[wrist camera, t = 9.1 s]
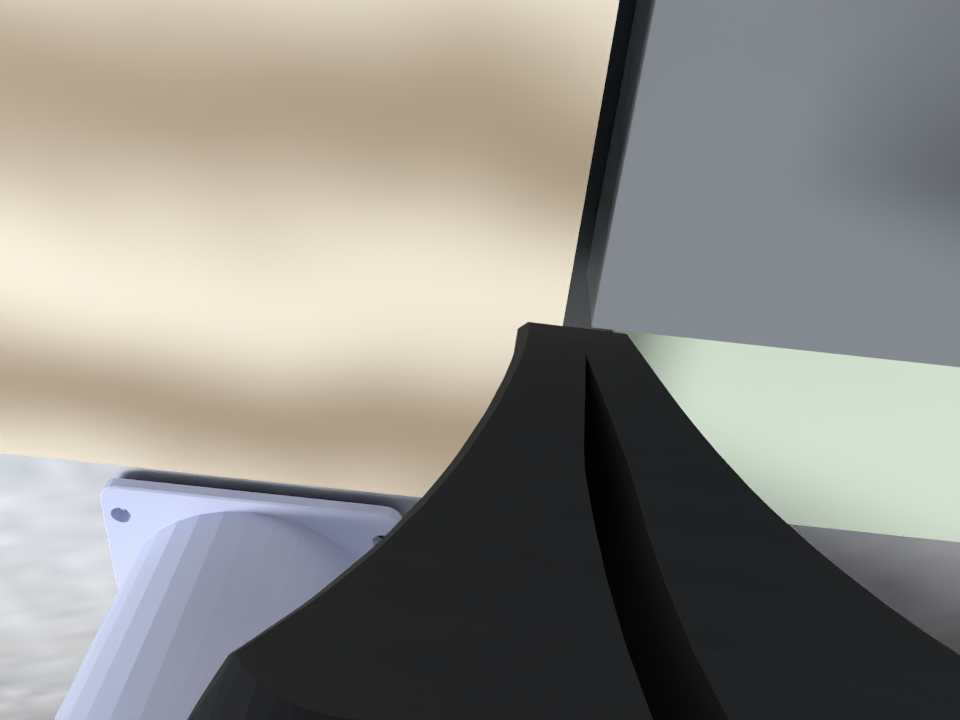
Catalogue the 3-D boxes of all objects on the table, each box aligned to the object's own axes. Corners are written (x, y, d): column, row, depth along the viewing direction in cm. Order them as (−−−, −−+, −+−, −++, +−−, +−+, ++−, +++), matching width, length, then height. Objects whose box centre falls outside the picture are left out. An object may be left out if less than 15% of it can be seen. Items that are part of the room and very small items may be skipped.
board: (530, 425, 22) (530, 509, 20) (-33, 365, 22) (-104, 442, 20) (667, -413, 13) (698, -452, 11) (-273, -526, 13) (-460, -591, 11)
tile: (950, 313, 20) (993, 370, 18) (586, 274, 19) (591, 327, 18) (1135, -92, 15) (1217, -72, 13) (663, -146, 15) (682, -133, 13)
